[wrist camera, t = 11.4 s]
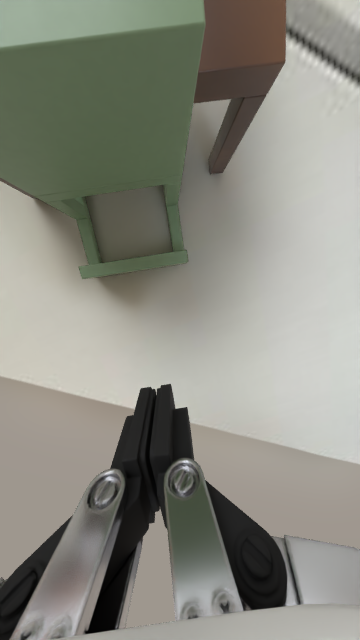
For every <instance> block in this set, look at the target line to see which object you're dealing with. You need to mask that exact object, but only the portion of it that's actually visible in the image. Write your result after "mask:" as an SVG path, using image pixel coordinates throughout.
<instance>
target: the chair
mask: <svg viewBox="0 0 360 640" xmlns="http://www.w3.org/2000/svg"><path fill="white" fill-rule="evenodd" d="M205 25H206V23H205V11H204V0H0V178H2V179H4V180H6V181H8V182H9V183H11V184H13V185H15V186H16V187H18V188H20V189H22V190H24V191H25V192H27V193H29V194H31V195H33V196H35V197H36V198H38V199H40V200H42V201H43V202H45V203H47V204H49V205H51V206H52V207H54V208H56V209H58V210H60V211H61V212H63V213H65V214H67V215H68V216H70V217H72V218H74V219H76V220H77V224H78V227H79V231H80V234H81V238H82V242H83V245H84V249H85V252H86V256H87V259H88V263H89V265H87V266H80V267H79V270H80V274H81V277H82V279H88V278H97V277H103V276H110V275H116V274H122V273H128V272H135V271H141V270H147V269H153V268H160V267H166V266H172V265H178V264H185V263H187V262H188V256H187V250H184V247H183V240H182V233H181V225H180V218H179V211H178V198H179V192H180V186H181V179H182V172H183V166H184V160H185V153H186V147H187V140H188V134H189V128H190V121H191V115H192V108H193V102H194V95H195V89H196V83H197V76H198V70H199V63H200V57H201V50H202V44H203V38H204V31H205ZM158 185H163V189H164V195H165V202H166V208H167V215H168V221H169V228H170V234H171V241H172V247H173V252H169V253H163V254H156V255H150V256H144V257H137V258H131V259H125V260H118V261H112V262H106V263H102V261H101V257H100V254H99V250H98V246H97V242H96V238H95V234H94V231H93V227H92V223H91V219H90V215H89V211H88V208H87V204H86V200H85V196H91V195H98V194H104V193H111V192H118V191H124V190H131V189H138V188H145V187H151V186H158Z"/></svg>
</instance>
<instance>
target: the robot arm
mask: <svg viewBox="0 0 360 640" xmlns="http://www.w3.org/2000/svg"><path fill="white" fill-rule="evenodd" d="M160 508H161V512H162V516H163V520H164V524H165V527H166V528H167V530H168V540H169V551H170V563H171V573H172V584H173V595H174V607H175V618H176V621H172V622H166V623H159V624H152V625H145V626H138V627H132V628H125V626H126V621H127V617H128V612H129V607H130V602H131V597H132V593H133V588H134V583H135V578H136V573H137V568H138V564H139V558H140V554H141V549H142V541H143V536H144V535H145V533H146V532H147V530H148V528H149V523H154V521H155V512H156V511H159V509H160ZM0 640H360V549H357V548H354V547H349V546H344V545H338V544H332V543H327V542H321V541H315V540H310V539H305V538H299V537H293V536H288V535H284V538H279V537H273V536H270V535H269V534H268V533H267V532H266V531H265V530H264V529H263V528H262V527H261V526H259V525H258V524H257V523H256V522H255V521H253V520H252V519H251V518H250V517H249V516H247V515H246V514H245V513H244V512H243V511H241V510H240V509H239V508H238V507H237V506H235V505H234V504H233V503H232V502H231V501H229V500H228V499H227V498H226V497H225V496H223V495H222V494H221V493H220V492H219V491H218V490H216V489H215V488H214V487H213V486H212V485H210V484H209V483H208V482H207V481H206V480H205V478H204V475H203V472H202V469H201V467H200V466H199V465H198V463H197V462H195V461H194V455H193V447H192V438H191V430H190V422H189V416H188V409H187V407H185V408H178V409H175V404H174V398H173V393H172V387H171V384H167V385H161V388H159V389H157V396H156V391H155V389H152V388H151V387H147V388H141V389H140V393H139V397H138V400H137V404H136V408H135V412H134V415H132V416H127V418H126V420H125V423H124V426H123V430H122V433H121V436H120V440H119V442H118V446H117V449H116V452H115V455H114V459H113V462H112V465H111V468H110V469H108V470H106V471H103V472H101V473H100V474H99V475H97V476H96V477H95V478H94V479H93V480H92V481H91V483H90V484H89V486H88V487H87V489H86V491H85V493H84V494H83V496H82V499H81V501H80V502H79V504H78V506H77V508H76V510H75V512H74V514H73V515H72V516H71V517H70V518H69V519H68V520H67V521H66V522H65V523H64V524H63V525H62V526H61V527H60V528H59V529H58V530H57V531H56V532H55V533H54V534H53V535H52V536H50V538H48V539H47V540H46V541H45V542H44V543H43V544H42V545H41V546H40V547H39V548H38V549H37V550H36V551H35V552H34V553H33V554H32V555H31V556H30V557H29V558H28V559H27V560H25V561H24V562H23V564H21V565H20V566H19V567H18V568H17V569H16V570H15V571H14V573H13V574H12V575H11V576H10V577H9V578H8V579H6V580H4V579H3V578H2V577H1V578H0Z"/></svg>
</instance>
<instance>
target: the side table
mask: <svg viewBox="0 0 360 640" xmlns="http://www.w3.org/2000/svg"><path fill="white" fill-rule="evenodd" d="M204 11H205V23H206V25H205V31H204V38H203V44H202V50H201V57H200V63H199V70H198V76H197V83H196V89H195V95H194V102H193V103H201V102H209V101H217V100H225V99H231V101H230V103H229V106H228V109H227V111H226V114H225V117H224V120H223V122H222V125H221V128H220V130H219V133H218V136H217V138H216V141H215V144H214V146H213V149H212V152H211V154H210V157H209V167H210V174H215V173H222V172H223V171H224V169H225V168H226V166H227V164H228V162H229V161H230V159H231V157H232V155H233V153H234V152H235V150H236V148H237V146H238V145H239V143H240V141H241V139H242V138H243V136H244V134H245V132H246V131H247V129H248V127H249V125H250V123H251V122H252V120H253V118H254V116H255V115H256V113H257V111H258V109H259V108H260V106H261V104H262V102H263V101H264V99H265V97H266V94H267V93H268V92H269V90H270V88H271V86H272V85H273V83H274V81H275V79H276V78H277V76H278V74H279V72H280V71H281V69H282V67H283V65H284V64H285V52H286V0H204ZM0 181H2V182H4V183H5V184H7V185H9V186H11V187H13V188H15V189H17V190H18V191H20V192H22V193H24V194H26V195H28V196H30V197H31V198H36V197H35V196H33V195H31V194H29V193H27V192H25V191H24V190H22V189H20V188H18V187H16V186H15V185H13V184H11V183H9V182H8V181H6V180H4V179H2V178H0Z"/></svg>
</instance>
